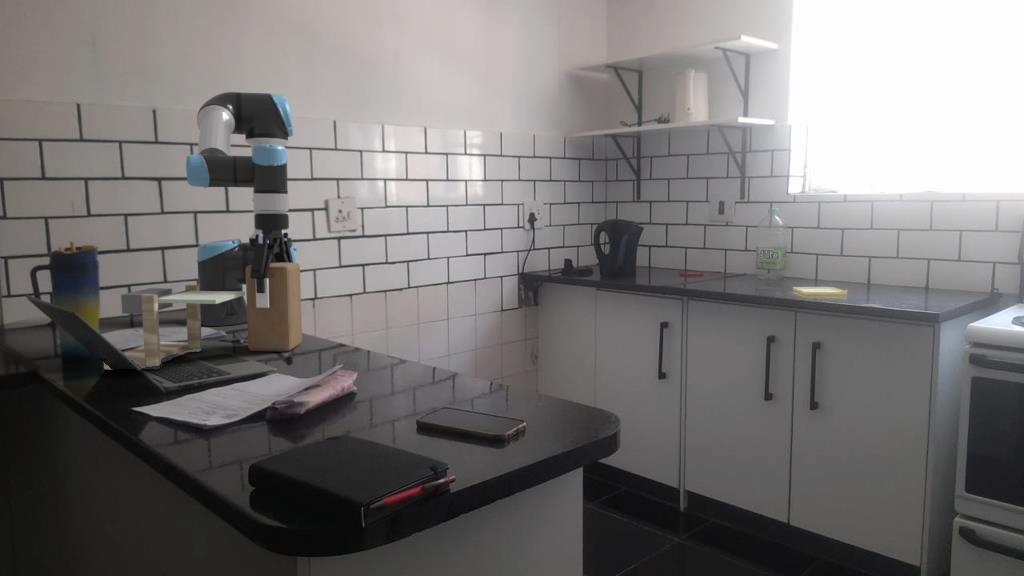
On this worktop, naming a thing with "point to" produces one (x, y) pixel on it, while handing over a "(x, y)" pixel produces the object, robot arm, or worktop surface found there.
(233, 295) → the trapdoor
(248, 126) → the robot arm
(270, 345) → the wooden block
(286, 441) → the worktop surface
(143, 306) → the trapdoor frame
